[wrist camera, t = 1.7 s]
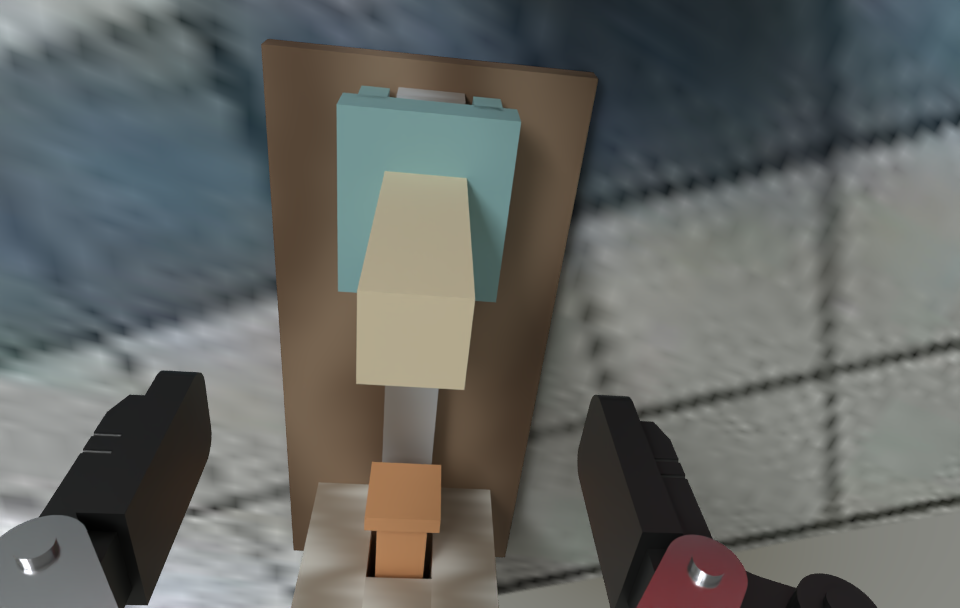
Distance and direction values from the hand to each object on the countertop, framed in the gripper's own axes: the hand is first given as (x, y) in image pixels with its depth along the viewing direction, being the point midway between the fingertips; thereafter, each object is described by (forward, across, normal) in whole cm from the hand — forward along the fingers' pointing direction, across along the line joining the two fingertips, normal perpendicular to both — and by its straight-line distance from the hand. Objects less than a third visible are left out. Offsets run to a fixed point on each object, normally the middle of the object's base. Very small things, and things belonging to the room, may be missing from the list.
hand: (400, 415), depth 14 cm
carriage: (+14, 0, +1) cm, 14 cm away
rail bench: (+15, 0, +9) cm, 18 cm away
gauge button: (+11, 0, +16) cm, 20 cm away
